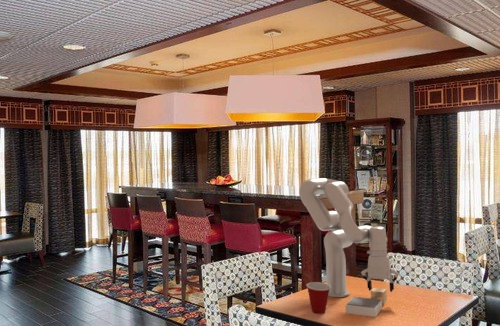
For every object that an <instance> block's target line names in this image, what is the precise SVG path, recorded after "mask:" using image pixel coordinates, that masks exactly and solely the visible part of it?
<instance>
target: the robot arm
mask: <svg viewBox="0 0 500 326" xmlns="http://www.w3.org/2000/svg"><path fill="white" fill-rule="evenodd" d="M348 194H349V186H348V185H347V184H346V183H345V181H341V180H335V179H330V178H326V177H324V178H323V177H321V178H320V177H319V178H318V177H317V178H309V179H308V178H307V180H304V181H303V182H302V183H301V185H300V186H299V199H300V200H301V202H302V204H303V205H304V207H305V208H306V210H307V211H308V213H309V215H310V216H311V218H312V220H313V222H314V223H315V225H316V227H317V228H318V229H319V230H320V231H322V232H326V231H329V232H327V233H326V234H325V236H324V238H323V245H324V248H325V249H324V250H325V263H326V266H325V268H326V269H325V271H326V274H325V275H326V284H328V285H330V286H331V288H330V290H329V293H328V297H330V298H344V297H345V298H346V297H348V296H349V295H350V290H348V289H347V263H346V254H345V251H344V249H345V248H349V247H350V246H352V245H353V243H354V244H361V243H364V242H365V243H366V242H369V250H367V251H366V254H369V256H368V259H367V268H365V269H364V270H362V271H361V272H360V273H361V275H362V278H363V279H365V281H366V283H367V289H368V291H371V290H372V289H373V287H372V285H373V284H372V279H373V280H375V279H376V280H377V279H378V280H388V281H389V292H391V293H392V292H393V290H394V289H395V285H394V284H395V281H396V280H397V279H398V278H399V275H400V272H398V271H396V270H395V269H392V265H391V261H390V256H389V255H388V249H387V246H388V245H387V244H388V243H387V232H386V231H387V230H386V228H385V227H384V226H379V225H378V226H371V225H366V224H365V225H359V226H358V225H357V224H356V222H355V221H354V219H353V217H352V211H353V209H354V204H353V202H352V201H351V200H350V198H349V197H348ZM319 195H325V198H326V199H327V200H328V201H329V203H330V204H331V205H332V207H333V208H334V210H328V209H327V208H326V206H325V204H324V203H323V201H322V200H321V199H320V198H319V197H317V196H319ZM366 273H367V274H366ZM392 274H393V275H394V277H392Z"/></svg>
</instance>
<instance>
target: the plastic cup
mask: <svg viewBox="0 0 500 326" xmlns="http://www.w3.org/2000/svg"><path fill="white" fill-rule="evenodd" d="M305 286H306V288H307V291H308V292H307V293H308V297H309V303H310V306H311V307H310V309H311V313H312V314H316V315H322V314H325V313H326V311H327V310H326V309H327V304H328V299H329V298H328V297H329V296H328V293H329V290H330V288H331V286H330V285H328V284H327V283H325V282H321V281H320V282H318V281H317V282H316V281H313V282H308V283H306V284H305Z"/></svg>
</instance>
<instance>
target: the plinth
mask: <svg viewBox="0 0 500 326" xmlns="http://www.w3.org/2000/svg"><path fill="white" fill-rule="evenodd" d="M344 307H345V314H349V315H357V316H365V317H371V318H376V317H377V316H378V315H379V313H380V312H381V310H382V309H383V305H382V300H380V299H371V297H368V298H367V297H360V296H353V297H352V298H350V300H349V301H348V302H347V303H346V304H345V305H344ZM377 314H378V315H377Z"/></svg>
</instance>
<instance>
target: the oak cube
mask: <svg viewBox="0 0 500 326" xmlns="http://www.w3.org/2000/svg"><path fill="white" fill-rule="evenodd" d="M387 293H388V292H387V288H378V287H372V289H371V290H370V298H371V299H380V300H382V306H385V305H386V303H387V302H386V301H388V300H387V297H388V296H387ZM384 304H385V305H384Z"/></svg>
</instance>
